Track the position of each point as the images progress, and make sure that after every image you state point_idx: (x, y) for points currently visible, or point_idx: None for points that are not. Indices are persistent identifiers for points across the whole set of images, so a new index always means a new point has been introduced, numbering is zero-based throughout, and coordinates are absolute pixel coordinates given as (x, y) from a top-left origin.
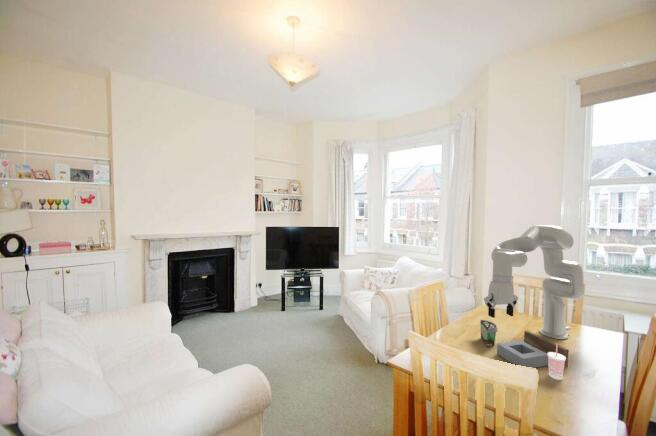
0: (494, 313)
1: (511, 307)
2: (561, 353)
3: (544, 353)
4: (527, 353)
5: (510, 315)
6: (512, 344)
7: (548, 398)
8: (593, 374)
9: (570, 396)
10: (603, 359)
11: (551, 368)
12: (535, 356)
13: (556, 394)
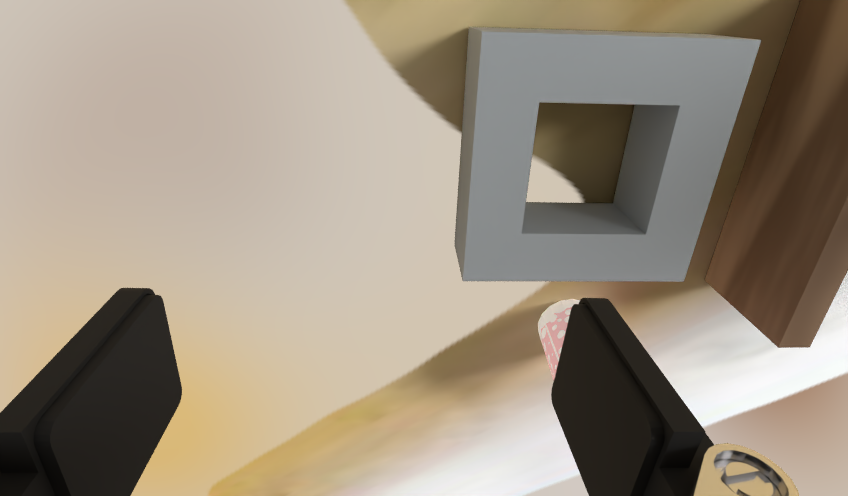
0: (132, 468)
1: None
2: (762, 307)
3: (675, 264)
4: (562, 237)
5: (555, 382)
6: (601, 87)
7: (362, 419)
8: (762, 349)
9: (465, 427)
10: None
11: (548, 356)
12: (571, 280)
13: (422, 409)
